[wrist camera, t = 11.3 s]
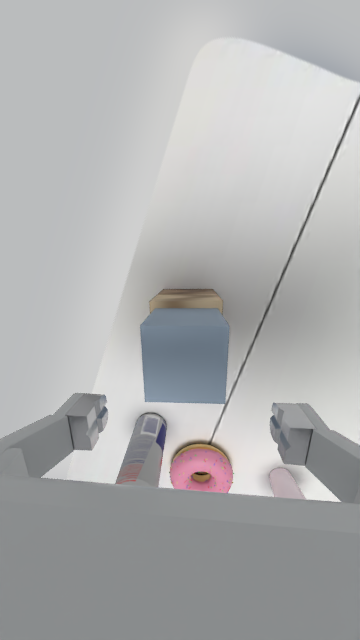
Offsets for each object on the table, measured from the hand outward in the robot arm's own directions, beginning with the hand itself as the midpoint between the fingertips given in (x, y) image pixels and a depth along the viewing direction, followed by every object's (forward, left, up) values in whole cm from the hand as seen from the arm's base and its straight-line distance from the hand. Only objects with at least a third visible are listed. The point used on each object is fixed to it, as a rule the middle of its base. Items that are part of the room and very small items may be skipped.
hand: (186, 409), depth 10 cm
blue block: (0, 0, -11) cm, 11 cm away
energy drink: (+6, +20, -21) cm, 29 cm away
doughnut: (-2, +28, -21) cm, 35 cm away
